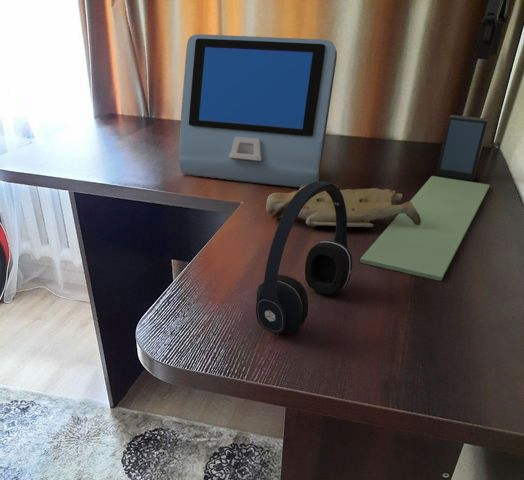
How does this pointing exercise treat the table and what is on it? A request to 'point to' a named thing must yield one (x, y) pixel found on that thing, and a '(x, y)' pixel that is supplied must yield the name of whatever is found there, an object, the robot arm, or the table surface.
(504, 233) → the table surface
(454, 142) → the black device
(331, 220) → the statue
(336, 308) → the table surface
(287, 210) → the headphones
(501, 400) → the table surface
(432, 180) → the green mat
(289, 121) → the touchscreen device
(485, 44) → the robot arm
